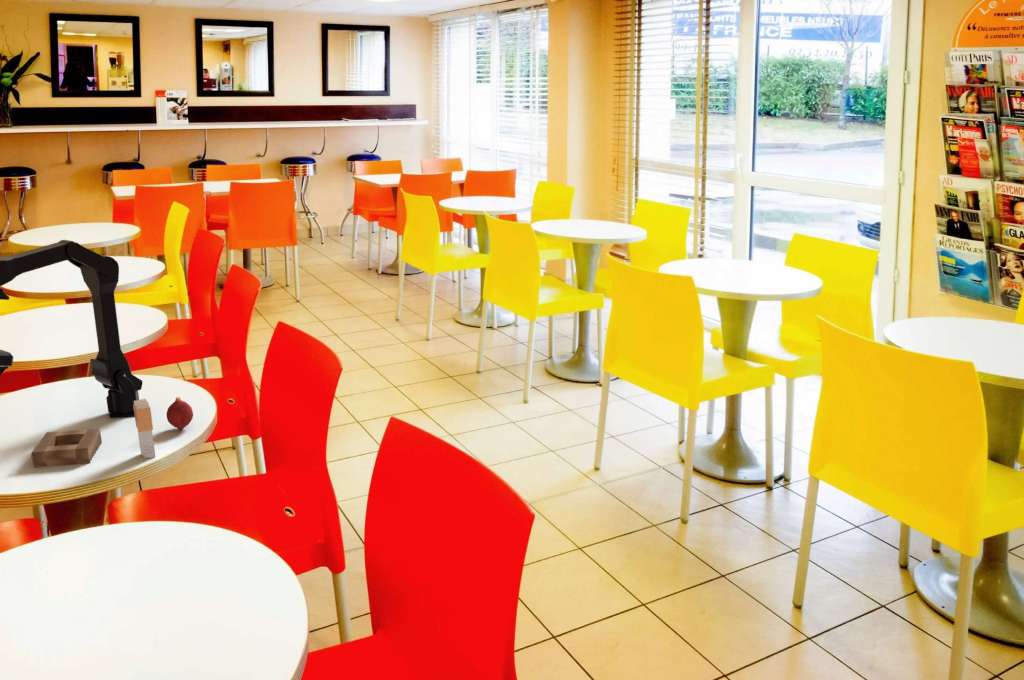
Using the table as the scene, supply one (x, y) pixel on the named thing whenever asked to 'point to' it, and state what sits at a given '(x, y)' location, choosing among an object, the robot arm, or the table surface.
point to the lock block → (66, 447)
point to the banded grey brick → (144, 428)
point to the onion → (179, 414)
